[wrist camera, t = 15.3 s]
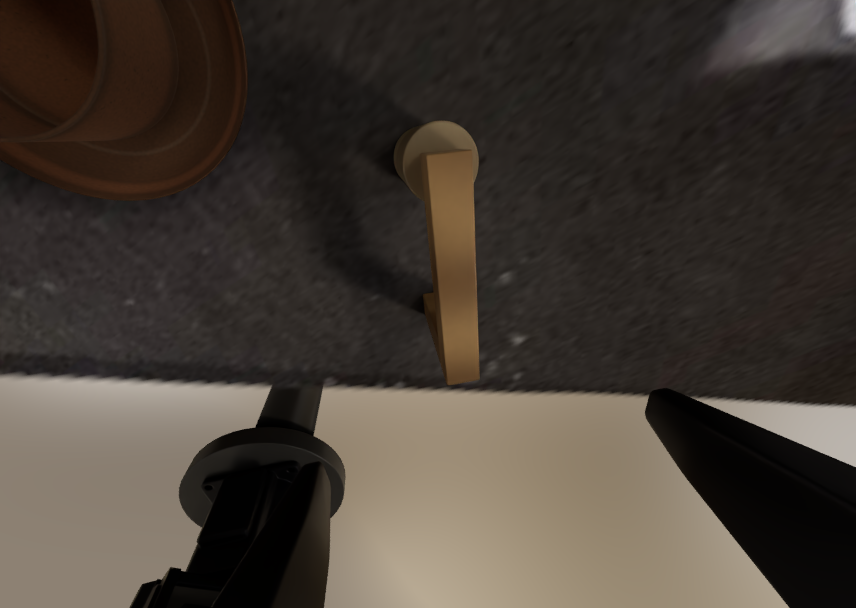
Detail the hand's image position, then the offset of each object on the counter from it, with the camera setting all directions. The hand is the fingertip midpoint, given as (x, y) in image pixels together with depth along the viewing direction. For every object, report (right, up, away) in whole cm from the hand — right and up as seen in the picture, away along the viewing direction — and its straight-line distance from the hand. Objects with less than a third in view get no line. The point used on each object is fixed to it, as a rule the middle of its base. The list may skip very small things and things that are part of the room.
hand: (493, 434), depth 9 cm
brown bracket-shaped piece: (-2, +8, +10) cm, 13 cm away
